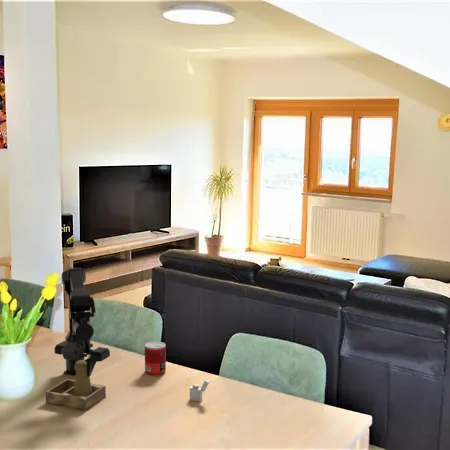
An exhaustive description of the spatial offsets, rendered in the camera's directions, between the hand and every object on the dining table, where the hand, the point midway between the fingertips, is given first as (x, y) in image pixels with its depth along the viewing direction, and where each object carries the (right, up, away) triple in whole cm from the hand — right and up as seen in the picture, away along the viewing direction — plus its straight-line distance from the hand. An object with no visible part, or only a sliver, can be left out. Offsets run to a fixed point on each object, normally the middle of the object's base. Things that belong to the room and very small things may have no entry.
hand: (82, 375), depth 208 cm
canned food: (+22, -6, +27) cm, 35 cm away
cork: (0, -6, +1) cm, 6 cm away
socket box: (-3, -9, +2) cm, 10 cm away
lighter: (+40, -10, +3) cm, 41 cm away
